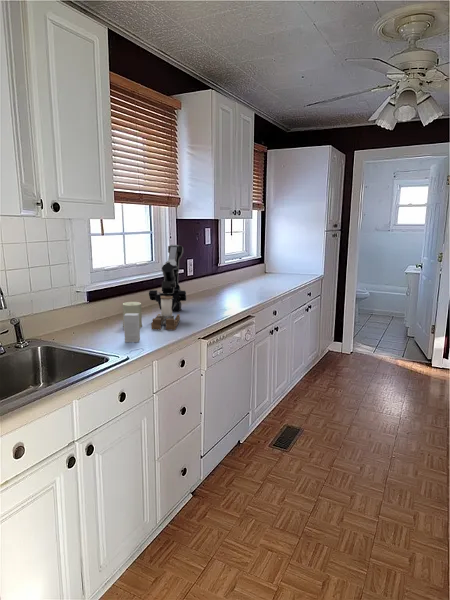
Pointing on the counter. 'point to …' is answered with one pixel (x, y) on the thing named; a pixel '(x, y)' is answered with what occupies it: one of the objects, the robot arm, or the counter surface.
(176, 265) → the robot arm
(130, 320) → the skincare box
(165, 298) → the jar
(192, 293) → the counter surface
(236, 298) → the counter surface
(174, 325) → the brown boxy piece
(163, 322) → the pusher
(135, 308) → the can
